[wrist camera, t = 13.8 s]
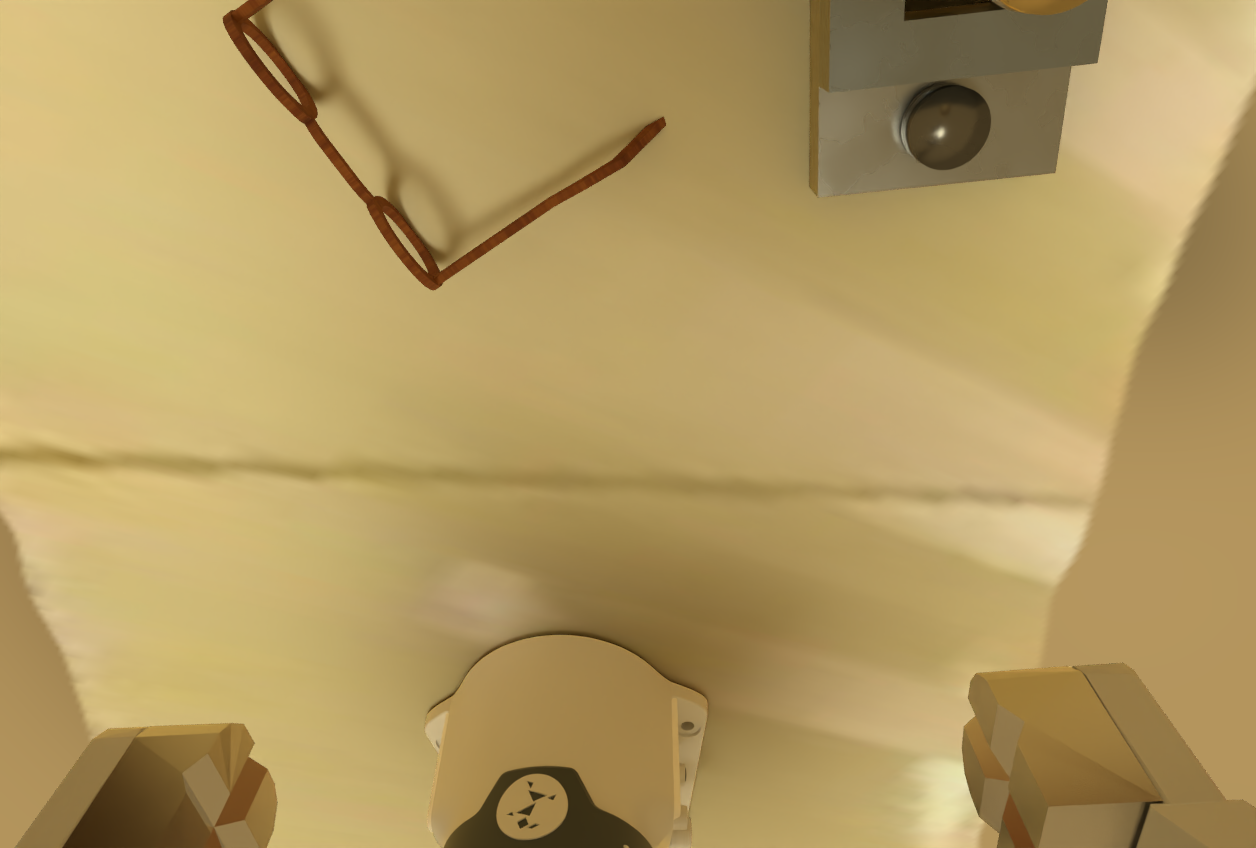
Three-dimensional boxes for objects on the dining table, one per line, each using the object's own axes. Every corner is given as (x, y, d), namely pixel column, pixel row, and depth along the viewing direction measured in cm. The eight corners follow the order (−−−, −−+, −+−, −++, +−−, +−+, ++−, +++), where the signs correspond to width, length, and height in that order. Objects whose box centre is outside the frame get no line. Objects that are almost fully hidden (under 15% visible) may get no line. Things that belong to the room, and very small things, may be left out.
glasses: (247, 18, 34) (190, 26, 30) (496, -184, 31) (472, -209, 26) (441, 273, 39) (416, 311, 35) (671, 126, 36) (675, 149, 32)
